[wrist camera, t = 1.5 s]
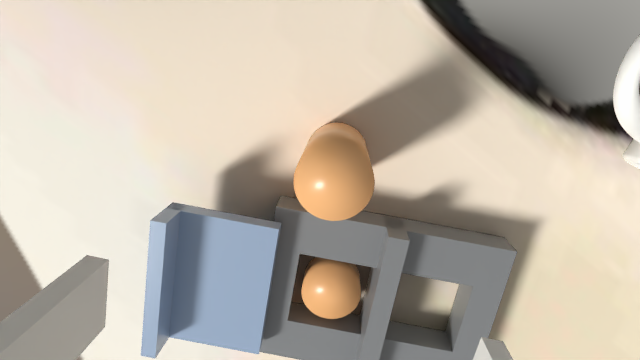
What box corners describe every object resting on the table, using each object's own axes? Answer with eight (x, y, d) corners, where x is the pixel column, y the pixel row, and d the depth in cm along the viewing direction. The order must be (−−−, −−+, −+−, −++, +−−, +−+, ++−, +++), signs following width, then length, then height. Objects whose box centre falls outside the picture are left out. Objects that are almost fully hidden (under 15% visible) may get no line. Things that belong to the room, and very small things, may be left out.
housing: (281, 195, 32) (271, 214, 28) (504, 237, 31) (527, 262, 27) (259, 330, 35) (248, 365, 31) (461, 369, 35) (476, 409, 31)
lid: (172, 202, 29) (150, 220, 26) (281, 222, 29) (273, 243, 26) (162, 324, 32) (141, 355, 29) (261, 343, 32) (252, 376, 28)
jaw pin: (311, 117, 30) (300, 136, 22) (372, 128, 30) (382, 151, 22) (302, 175, 31) (287, 212, 23) (360, 186, 31) (365, 227, 23)
